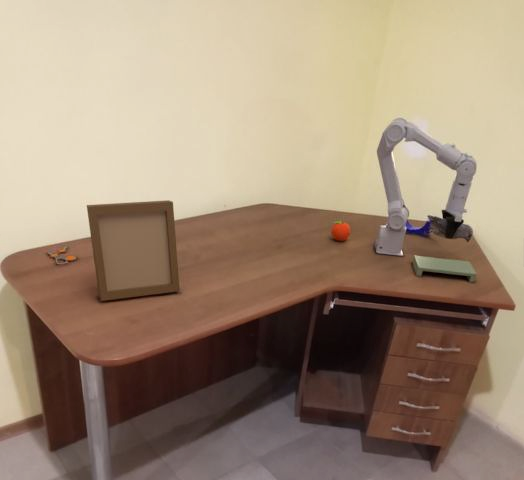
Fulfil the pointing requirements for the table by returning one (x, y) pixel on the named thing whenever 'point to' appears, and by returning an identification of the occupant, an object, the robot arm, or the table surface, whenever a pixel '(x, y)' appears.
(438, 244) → the table surface
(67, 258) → the key chain
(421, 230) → the blue curved piece
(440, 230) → the bird
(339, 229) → the red tomato
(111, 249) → the photo frame
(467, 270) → the shelf
